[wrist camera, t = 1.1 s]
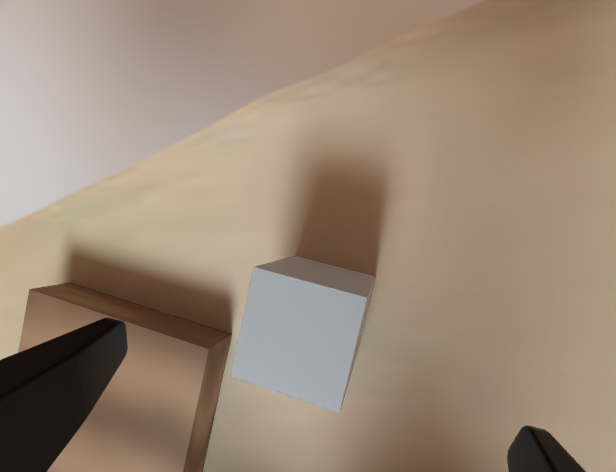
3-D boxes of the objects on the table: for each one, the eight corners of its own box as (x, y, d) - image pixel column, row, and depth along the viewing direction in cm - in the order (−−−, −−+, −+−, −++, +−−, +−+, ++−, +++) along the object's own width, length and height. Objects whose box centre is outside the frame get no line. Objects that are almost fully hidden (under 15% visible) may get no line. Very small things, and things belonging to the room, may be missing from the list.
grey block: (356, 356, 22) (339, 413, 15) (278, 332, 23) (230, 376, 16) (375, 276, 22) (367, 297, 15) (295, 255, 23) (253, 266, 16)
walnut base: (191, 519, 25) (164, 558, 22) (38, 450, 28) (-4, 476, 25) (231, 334, 24) (208, 349, 21) (69, 282, 27) (29, 289, 24)
